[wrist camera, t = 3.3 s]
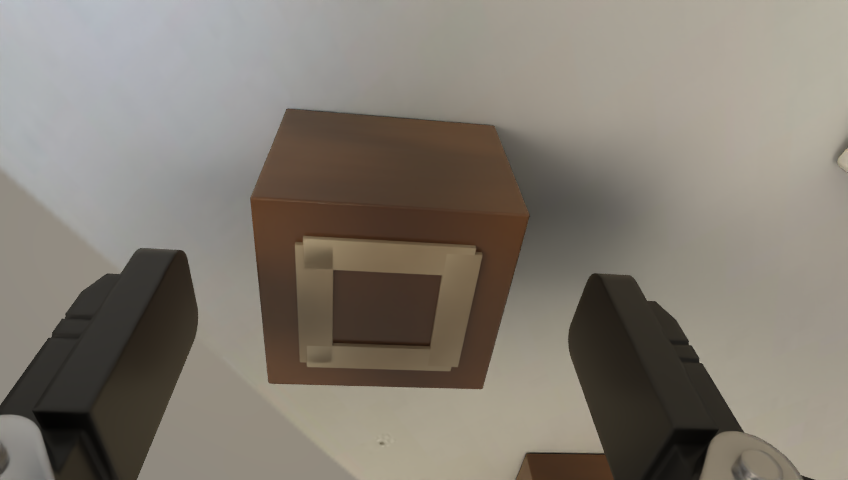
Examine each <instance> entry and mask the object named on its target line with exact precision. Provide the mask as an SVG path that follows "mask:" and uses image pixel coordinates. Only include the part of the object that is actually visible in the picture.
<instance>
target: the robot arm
mask: <svg viewBox="0 0 848 480" xmlns="http://www.w3.org/2000/svg"><path fill="white" fill-rule="evenodd" d="M197 325H198V308H197V303H196V298H195V293H194V288H193V283H192V279H191V274H190V269H189V264H188V259H187V256H186V254H185V252H184V251H182V250H169V249H151V248H140V249H138V250H137V251H136V252H135V253H134V254H133V256H132V257H131V259H130V260H129V262H128V263H127V265H126V266H125V268H124V270H123V271H122V273H121V274H106V275H104V276H103V277H101V278H100V279H99V280H97V281H96V282H95V283H93V284H92V285H91V286H89V287H88V288H86V289H85V290H83V291H82V292H81V293H80V295H79V296H78V297H77V299H76V300H75V302H74V303H73V304H72V306H71V307H70V309H69V310H68V311H67V313H66V317H65V319H62V320H61V321H60V323H59V324H58V325H57V327H56V328H55V330H54V331H53V332H52V337H51V338H48V339H47V341H46V342H45V344H44V345H43V346H42V348H41V349H40V351H39V352H38V353H37V355H36V356H35V357H34V359H33V360H32V362H31V363H30V365H29V366H28V367H27V369H26V370H25V372H24V373H23V374H22V376H21V377H20V379H19V380H18V381H17V383H16V384H15V385H14V387H13V388H12V390H11V391H10V392H9V394H8V395H7V397H6V398H5V399H4V401H3V402H2V404H1V405H0V480H137V478H138V475H139V473H140V470H141V468H142V465H143V463H144V461H145V458H146V456H147V453H148V451H149V448H150V446H151V444H152V441H153V439H154V436H155V434H156V431H157V429H158V427H159V424H160V422H161V419H162V417H163V414H164V412H165V410H166V407H167V405H168V402H169V400H170V398H171V395H172V393H173V390H174V388H175V385H176V383H177V380H178V378H179V375H180V373H181V371H182V368H183V366H184V364H185V361H186V359H187V356H188V354H189V351H190V349H191V347H192V344H193V342H194V339H195V336H196V331H197ZM688 342H689V341H688V339H687V337H686V336H685V334H684V332H683V331H682V329H681V328H680V326H679V324H678V323H677V321H676V320H675V319H674V318H673V317H672V316H671V315H670V314H669V313H668V312H666V311H665V310H664V309H663V308H662V307H661V306H660V305H659V304H658V303H657V302H655V301H647V300H646V298H645V296H644V294H643V293H642V291H641V289H640V287H639V286H638V284H637V282H636V280H635V279H634V278H633V277H632V276H630V275H616V274H597V273H595V274H592V275H591V276H590V277H589V279H588V280H587V283H586V285H585V288H584V291H583V293H582V296H581V299H580V301H579V304H578V306H577V309H576V312H575V314H574V317H573V320H572V322H571V325H570V329H569V336H568V344H569V352H570V356H571V359H572V362H573V364H574V367H575V370H576V373H577V376H578V379H579V381H580V384H581V387H582V390H583V393H584V396H585V399H586V401H587V404H588V407H589V410H590V413H591V416H592V418H593V421H594V424H595V427H596V430H597V433H598V436H599V438H600V441H601V444H602V447H603V450H604V453H605V456H606V458H607V461H608V464H609V467H610V470H611V473H612V475H613V478H614V480H814V479H811V478H808V477H804V476H802V475H800V473H799V472H798V470H797V469H796V467H795V466H794V465H793V464H792V462H791V461H790V460H789V459H788V458H787V457H786V456H785V455H784V454H782V453H781V452H780V451H779V450H778V449H776V448H775V447H773V446H772V445H771V444H769V443H767V442H766V441H764V440H762V439H760V438H758V437H756V436H753V435H750V434H747V433H744V431H743V430H742V428H741V427H740V425H739V423H738V422H737V420H736V418H735V417H734V415H733V413H732V412H731V410H730V409H729V407H728V405H727V404H726V402H725V400H724V399H723V397H722V395H721V394H720V392H719V390H718V389H717V387H716V385H715V384H714V382H713V380H712V379H711V377H710V375H709V374H708V372H707V370H706V369H705V367H704V366H703V364H702V363H699V357H698V356H697V354H696V352H695V351H694V349H693V347H692V346H691V345H689V344H688Z"/></svg>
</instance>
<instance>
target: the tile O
mask: <svg viewBox="0 0 848 480" xmlns="http://www.w3.org/2000/svg"><path fill="white" fill-rule="evenodd" d="M250 201H251V211H252V221H253V231H254V241H255V252H256V262H257V272H258V282H259V292H260V302H261V312H262V323H263V333H264V343H265V353H266V363H267V373H268V382H269V383H270V384H306V385H344V386H382V387H419V388H457V389H482V388H483V385H484V382H485V378H486V374H487V371H488V367H489V363H490V360H491V356H492V352H493V349H494V345H495V341H496V338H497V334H498V330H499V327H500V323H501V319H502V316H503V312H504V308H505V305H506V301H507V297H508V294H509V290H510V286H511V283H512V279H513V275H514V272H515V268H516V264H517V261H518V257H519V253H520V250H521V246H522V242H523V239H524V235H525V231H526V228H527V224H528V220H529V217H530V215H529V212H528V210H527V207H526V205H525V202H524V199H523V197H522V194H521V192H520V189H519V187H518V184H517V182H516V179H515V177H514V174H513V172H512V169H511V167H510V164H509V162H508V159H507V156H506V154H505V151H504V149H503V146H502V144H501V141H500V139H499V136H498V134H497V131H496V129H495V126H490V125H478V124H466V123H453V122H441V121H429V120H417V119H405V118H393V117H380V116H368V115H356V114H344V113H332V112H320V111H307V110H295V109H286V112H285V114H284V117H283V119H282V122H281V124H280V127H279V129H278V131H277V134H276V136H275V139H274V141H273V144H272V146H271V149H270V151H269V153H268V156H267V158H266V161H265V163H264V166H263V168H262V171H261V173H260V175H259V178H258V180H257V183H256V185H255V188H254V190H253V193H252V195H251V197H250Z"/></svg>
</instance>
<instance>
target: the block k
mask: <svg viewBox="0 0 848 480" xmlns="http://www.w3.org/2000/svg"><path fill="white" fill-rule="evenodd" d="M516 480H614V478H613V475H612V473H611V470H610V467H609V464H608V461H607V458H606V456H605V455H595V454H526V456H525V459H524V461H523V464H522V466H521V469H520V471H519V474H518V476H517V479H516Z"/></svg>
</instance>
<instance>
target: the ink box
mask: <svg viewBox="0 0 848 480" xmlns="http://www.w3.org/2000/svg"><path fill="white" fill-rule="evenodd" d="M837 163H838V165H839V166H840V167H841V168H842V169H843V170H845V171H846V172H847V173H848V148H847V149H846V150H845V151H844V152H843V153H842V155H841V156H840V157H839V158H838V161H837Z"/></svg>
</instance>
